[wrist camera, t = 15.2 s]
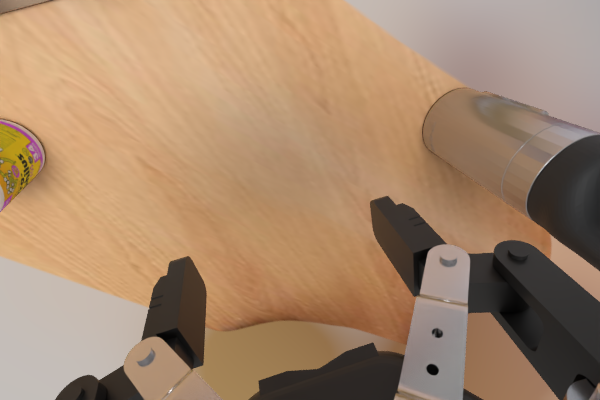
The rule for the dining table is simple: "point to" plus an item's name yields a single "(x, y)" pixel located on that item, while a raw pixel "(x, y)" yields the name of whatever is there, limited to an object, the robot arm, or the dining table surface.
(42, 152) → the supplement bottle
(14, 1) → the clipboard
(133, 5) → the dining table surface
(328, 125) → the dining table surface
